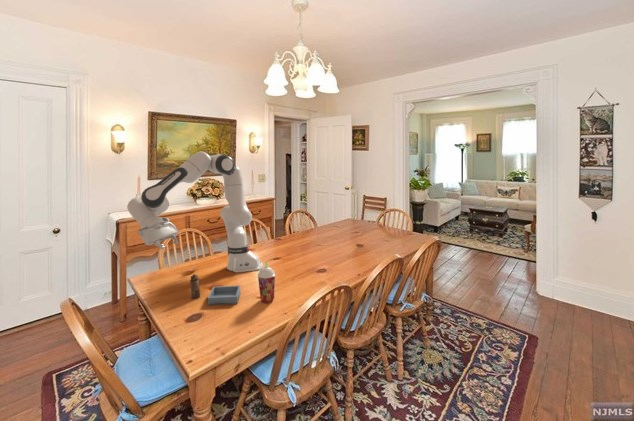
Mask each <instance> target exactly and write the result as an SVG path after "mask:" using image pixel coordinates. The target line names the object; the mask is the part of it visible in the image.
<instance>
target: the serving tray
mask: <svg viewBox="0 0 634 421" xmlns="http://www.w3.org/2000/svg"><path fill="white" fill-rule="evenodd" d="M241 290H242V289H241V285H226V286H225V285H224V286H212V288H211V290H210V293H209V295H208V297H207V306H220V305H221V306H224V305H237V304H238V303H239V299H240V296H241Z"/></svg>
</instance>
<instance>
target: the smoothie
mask: <svg viewBox="0 0 634 421" xmlns="http://www.w3.org/2000/svg"><path fill="white" fill-rule="evenodd" d="M267 263H268V261H265V266H263V268H262V269H260V270H258V271H259V272H258V273H257V279H258V280H257V281H258V291H259V298H260V301H261V302H262V303H264V304H270V303H273V301H274V299H275V289H276V287H275V286H276V272H275V271H274V269H273V268H271V267H270V266H268V264H267Z"/></svg>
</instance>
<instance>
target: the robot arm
mask: <svg viewBox="0 0 634 421" xmlns="http://www.w3.org/2000/svg"><path fill="white" fill-rule="evenodd" d="M207 171H208V172H209V173H212V174H216V175H222V177H223V187H224V197H225V200H226V201H227V203H228V205H225V206H223V207H222V208H221V209H220V212H219V213H220V214H219V215H220V217H221V219H222V220H223V223H224V226H225V229H226V230H225V231H226V234H227V255H228V258H227V265H226V269H227V270H228V271H231V272H233V273H243V272H252V271H253V272H255V271H260V270H261V269H262V268H264V263H263V262H262V261H261V260H260V257H259V256H258V254H256V253H255V252H253V251H251V246H250V245H248V244H247V232H246V230H245V229H244V226H245V227H246V226H248V225H249V224H250V223H251V222H252V220H253V214H252V212H251V211H250V210H249V208H248V205H247V201H246V198H245V193H244V192H245V190H244V180H243V175H242V174H243V173H242V171H241V168H240V167H239V166H237V165H236V164H235V161H234V160H233V158H232V157H231V156H229V155H227V154H222V153H221V154H220V153H218V154H210V155H209V154H208V153H207V152H205V151H203V150H202V151H201V150H200V151H198V152H195V153H194V154H192V155H191V156H190V157H188V158H187V159H186V160H185V161H184V162H183V163H182V164H181V165H180V166H178V167H177V168H175V169H174V170H172V171H170V172H169V174H167V175H166V176H164V178H162V179H161V180H160V181H159V182H157V183H155V184H154V185H150V186H148V187H147V188H145V189H144V190H143V191H142V193H141V196H139V197H138V196H137V197H134V198H132V199H130V201H128V203H127V205H126V207H127V211H128V213H129V214H130V215H131V217H133V219H134V220H135V221H136V222H137V223H138V224H139V227H141V228H139V229H138V230H137V234H138V235H139V237H140V238H141V240H142V241H143V243H144V244H145V245H146V246H151V245H154V246H155V247H158V248H160V250H164V249H165V248H166V246H165V244H164V243H161V242H163V241H166V240H168V239H171V240H173V242H172V243H173V244H174V245H177V244H178V243H179V240H178V238H177V235H178V234H179V233H180V232H179V229H178V227H176V225H175V224H173V223H172V222H170V219H169V218H168V217H161V216H159V215H160V214H162V213H164V212H166V211H167V210H168V208H169V207H170V202H169V200H168V198H167V194H168V193H169V192H170V191H171V190H172V189H174V188H175V187H176V186H177V185H178V184H180V183H187V184H192V183H194V182H196V181H197V180H199V179H200V178H201V177H202V176H203V175H204V173H206V172H207Z"/></svg>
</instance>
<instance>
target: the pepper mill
mask: <svg viewBox="0 0 634 421" xmlns="http://www.w3.org/2000/svg"><path fill="white" fill-rule="evenodd" d="M189 282H190V296H191V299H193V300H196V299H199V298H200V297H201V292H200V280H199V277H198V275H197V274H192V275H191V276H190V280H189Z"/></svg>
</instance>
